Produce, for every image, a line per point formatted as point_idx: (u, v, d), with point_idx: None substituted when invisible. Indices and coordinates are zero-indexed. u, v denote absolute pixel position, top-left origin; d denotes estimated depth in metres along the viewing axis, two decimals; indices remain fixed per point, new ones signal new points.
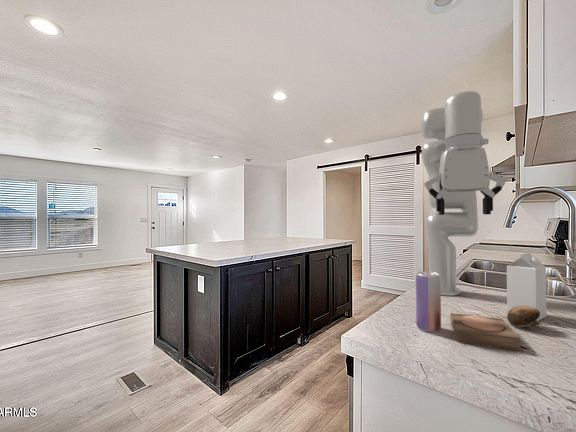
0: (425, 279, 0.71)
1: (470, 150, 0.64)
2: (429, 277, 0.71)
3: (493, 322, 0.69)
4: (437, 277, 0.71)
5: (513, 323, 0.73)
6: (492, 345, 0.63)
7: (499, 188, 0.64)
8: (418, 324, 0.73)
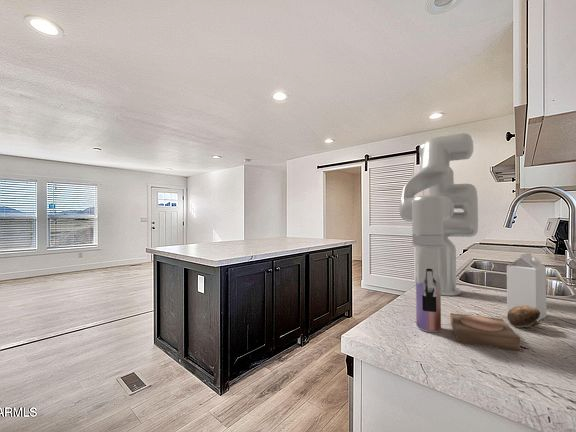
0: None
1: None
2: None
3: (493, 322, 0.69)
4: None
5: (513, 323, 0.73)
6: (492, 345, 0.63)
7: None
8: (418, 324, 0.73)
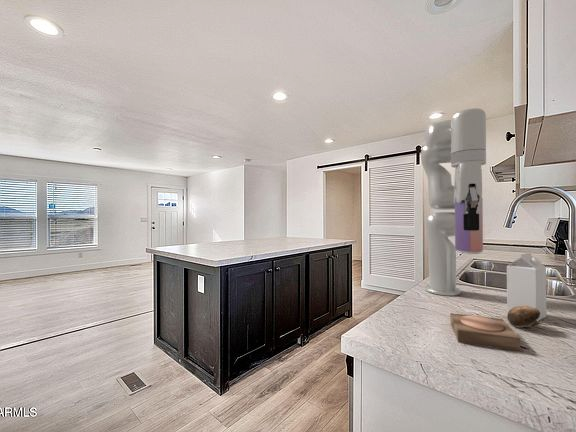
0: None
1: None
2: None
3: (493, 322, 0.69)
4: None
5: (513, 323, 0.73)
6: (492, 345, 0.63)
7: None
8: (458, 247, 0.70)
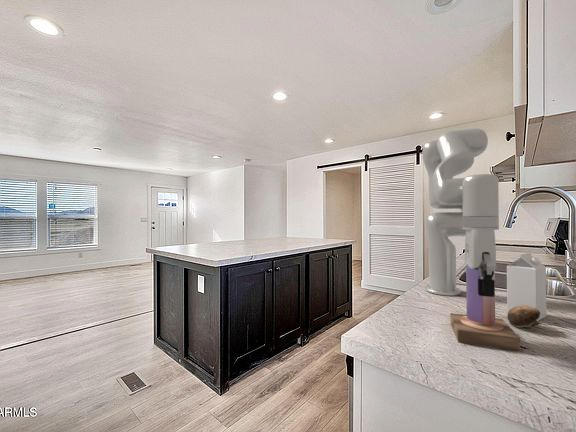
0: None
1: None
2: None
3: None
4: None
5: (513, 323, 0.73)
6: (492, 345, 0.63)
7: None
8: (470, 317, 0.69)
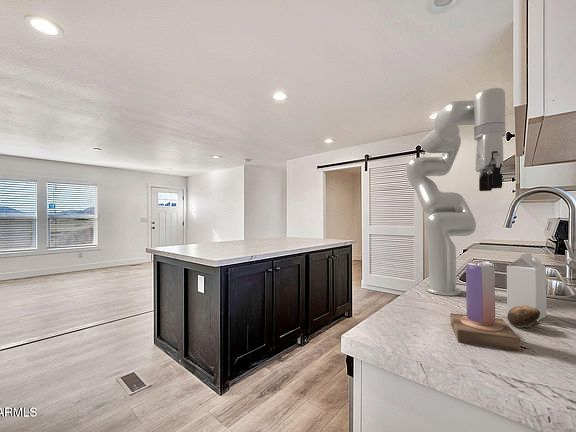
0: (479, 268, 0.67)
1: None
2: (483, 266, 0.67)
3: None
4: (491, 266, 0.67)
5: (513, 323, 0.73)
6: (492, 345, 0.63)
7: None
8: (470, 317, 0.69)
